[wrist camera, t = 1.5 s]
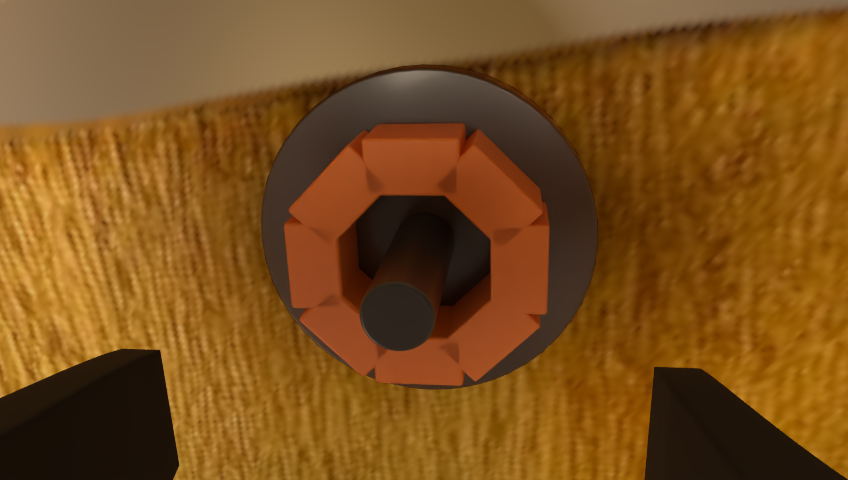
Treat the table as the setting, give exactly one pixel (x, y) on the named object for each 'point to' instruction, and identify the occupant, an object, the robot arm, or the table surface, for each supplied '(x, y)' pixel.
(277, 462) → the table surface
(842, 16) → the table surface
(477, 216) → the ring
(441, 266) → the stake
